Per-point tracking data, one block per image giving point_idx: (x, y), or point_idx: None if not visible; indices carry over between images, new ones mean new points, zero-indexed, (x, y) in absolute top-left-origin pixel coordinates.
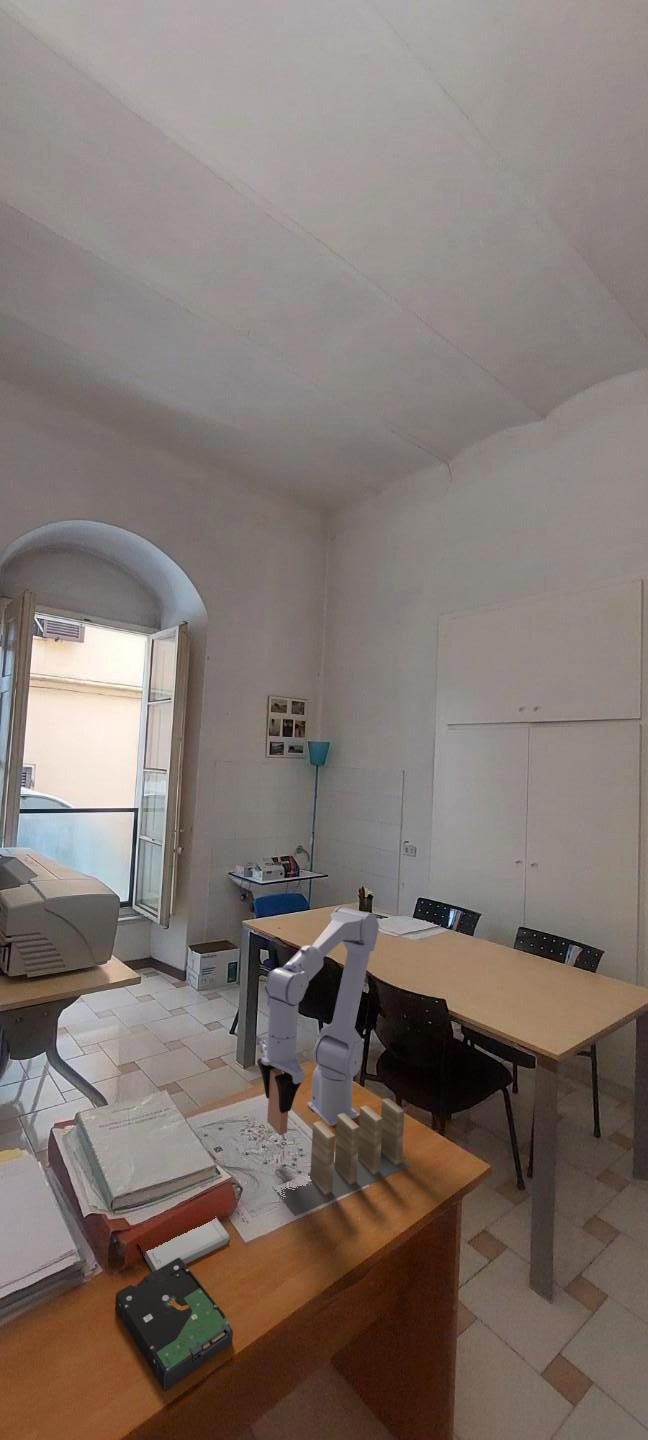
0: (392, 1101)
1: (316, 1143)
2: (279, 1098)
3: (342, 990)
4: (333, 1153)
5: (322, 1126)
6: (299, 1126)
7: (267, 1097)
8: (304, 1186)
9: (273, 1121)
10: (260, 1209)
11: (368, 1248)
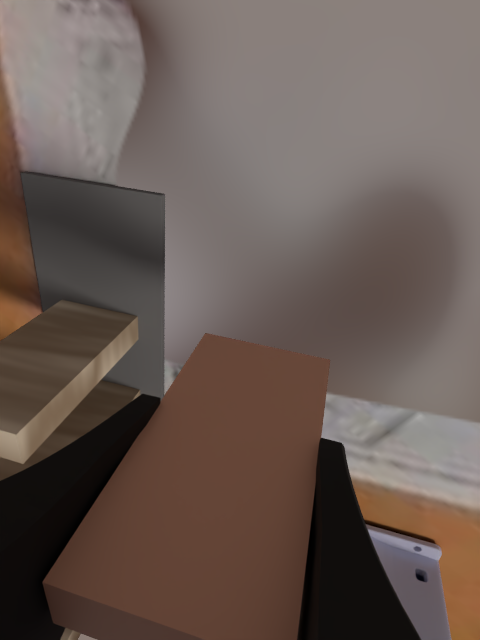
0: None
1: (32, 381)
2: (96, 446)
3: None
4: None
5: None
6: (372, 461)
7: (319, 442)
8: (115, 280)
9: (261, 363)
10: (99, 94)
11: None
